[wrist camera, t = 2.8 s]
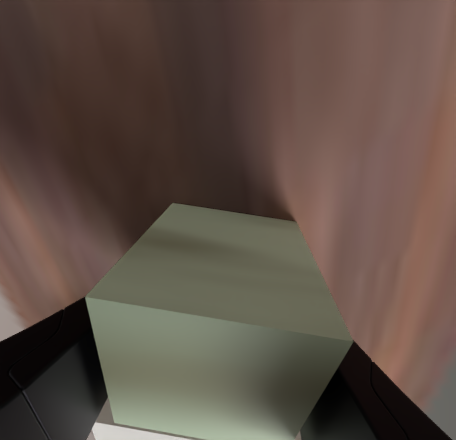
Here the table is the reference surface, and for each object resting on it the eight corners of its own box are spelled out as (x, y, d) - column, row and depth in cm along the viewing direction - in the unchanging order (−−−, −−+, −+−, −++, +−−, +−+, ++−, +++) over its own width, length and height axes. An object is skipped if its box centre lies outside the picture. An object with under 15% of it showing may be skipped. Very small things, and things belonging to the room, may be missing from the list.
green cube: (269, 310, 10) (285, 454, 6) (171, 294, 11) (114, 422, 6) (296, 222, 8) (353, 341, 4) (172, 202, 8) (84, 296, 4)
